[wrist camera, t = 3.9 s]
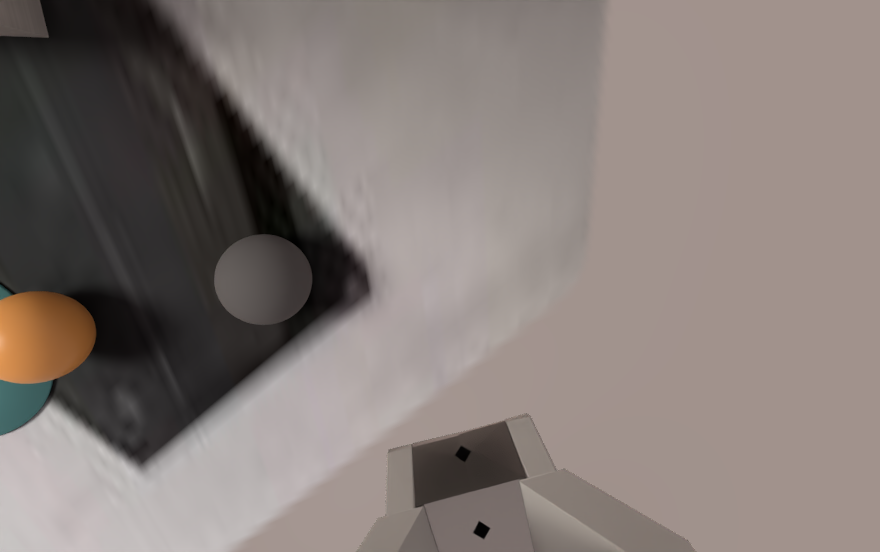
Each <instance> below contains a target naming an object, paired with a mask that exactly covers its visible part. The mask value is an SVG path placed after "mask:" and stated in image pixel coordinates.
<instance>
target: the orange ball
mask: <svg viewBox="0 0 880 552" xmlns="http://www.w3.org/2000/svg"><path fill="white" fill-rule="evenodd" d="M95 340H96V326H95V322H94V320H93V318H92V316H91V314H90V313H89V311H88V310H87V309H86V308H85V307H84V306H83V305H82V304H80V303H79V302H78V301H76V300H74V299H72V298H70V297H68V296H65V295H62V294H59V293H54V292H47V291H31V292H24V293H19V294H15V295H12V296H9V297H6V298H4V299H2V300H0V380H4V381H8V382H12V383H19V384H33V383H41V382H47V381H50V380H53V379H57V378H59V377H61V376H63V375H66V374H68V373H69V372H71V371H72V370H74V369H75V368H77V367H78V366H79V365H80V364H81V363H82V362H84V360H85V359H86V358H87V357H88V355H89V354H90V352H91V351H92V349H93V347H94V344H95Z"/></svg>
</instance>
